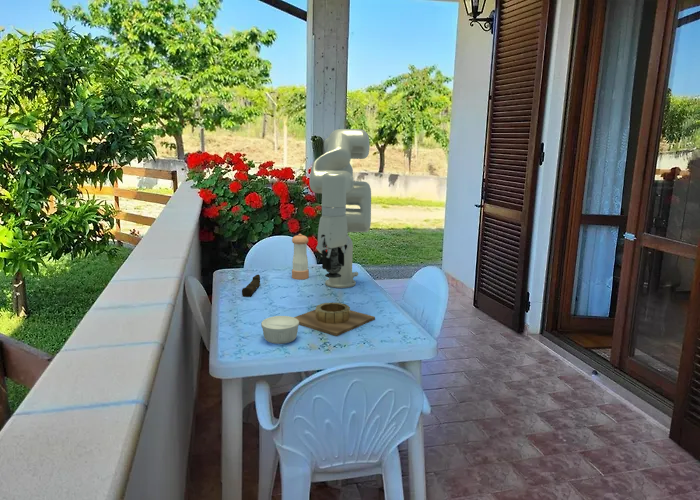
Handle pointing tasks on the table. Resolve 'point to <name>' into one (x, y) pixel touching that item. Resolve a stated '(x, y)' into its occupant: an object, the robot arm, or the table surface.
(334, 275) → the stone chess piece
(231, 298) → the table surface
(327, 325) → the wooden board
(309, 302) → the table surface
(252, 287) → the brown long rounded piece
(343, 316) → the wooden ring
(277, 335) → the ramekin
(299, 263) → the pepper shaker
